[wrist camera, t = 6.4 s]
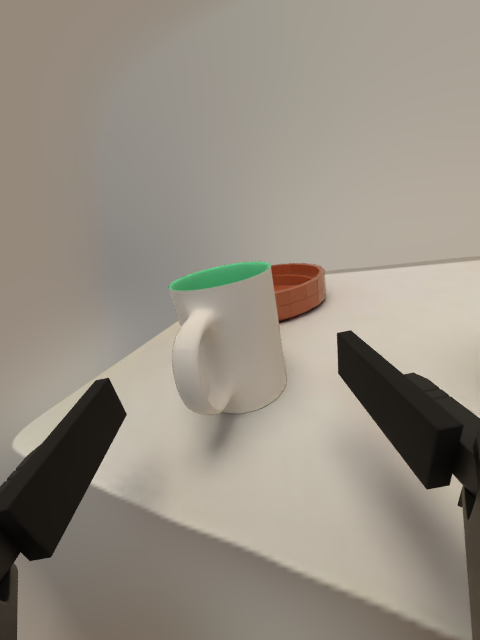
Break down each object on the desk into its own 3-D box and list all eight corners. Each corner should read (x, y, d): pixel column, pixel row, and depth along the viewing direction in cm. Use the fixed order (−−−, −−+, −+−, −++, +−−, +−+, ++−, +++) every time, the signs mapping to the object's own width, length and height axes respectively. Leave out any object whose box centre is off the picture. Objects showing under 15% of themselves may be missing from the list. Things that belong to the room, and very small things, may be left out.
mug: (279, 466, 14) (249, 305, 10) (164, 454, 16) (103, 320, 12) (288, 356, 25) (275, 257, 21) (217, 358, 27) (194, 270, 23)
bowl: (194, 335, 34) (186, 306, 33) (220, 293, 53) (216, 274, 51) (341, 316, 31) (340, 284, 29) (313, 279, 49) (312, 258, 48)
